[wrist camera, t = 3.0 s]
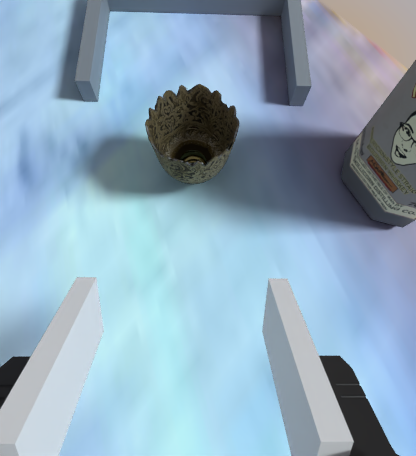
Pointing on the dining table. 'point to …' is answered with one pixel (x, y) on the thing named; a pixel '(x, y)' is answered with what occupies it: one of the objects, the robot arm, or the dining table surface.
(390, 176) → the liquor
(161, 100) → the cup
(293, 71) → the corral
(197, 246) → the dining table surface
